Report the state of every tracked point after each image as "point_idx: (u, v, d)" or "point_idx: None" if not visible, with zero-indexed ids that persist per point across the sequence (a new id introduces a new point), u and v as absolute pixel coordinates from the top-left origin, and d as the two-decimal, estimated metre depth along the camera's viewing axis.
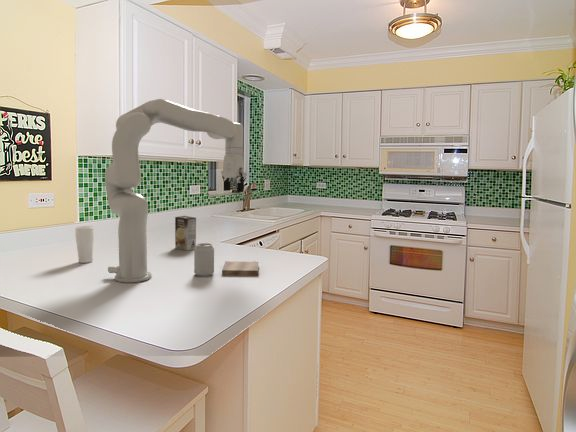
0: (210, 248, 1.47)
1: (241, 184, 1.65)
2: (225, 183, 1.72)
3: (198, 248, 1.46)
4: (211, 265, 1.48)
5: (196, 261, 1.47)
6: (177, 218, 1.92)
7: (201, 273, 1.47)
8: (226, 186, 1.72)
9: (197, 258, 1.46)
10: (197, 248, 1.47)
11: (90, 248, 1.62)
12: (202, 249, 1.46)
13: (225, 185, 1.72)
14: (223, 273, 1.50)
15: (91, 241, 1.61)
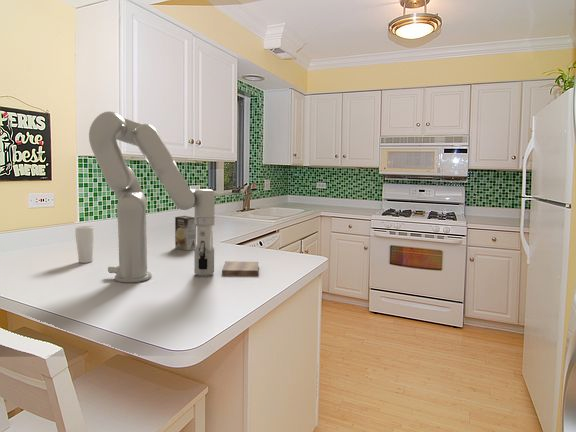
0: None
1: None
2: None
3: None
4: (211, 265, 1.48)
5: (196, 261, 1.47)
6: (177, 218, 1.92)
7: (201, 273, 1.47)
8: None
9: (197, 258, 1.46)
10: None
11: (90, 248, 1.62)
12: None
13: None
14: (223, 273, 1.50)
15: (91, 241, 1.61)
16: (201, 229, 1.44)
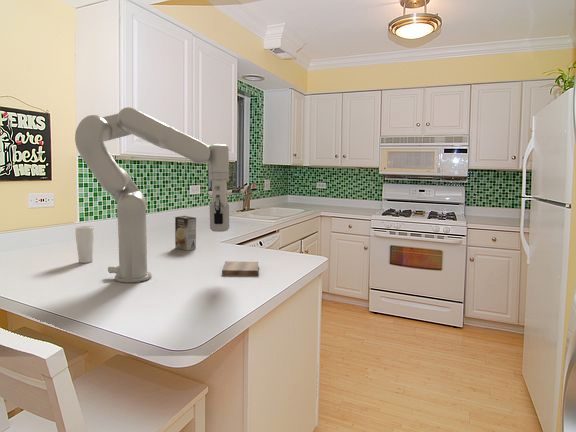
0: None
1: None
2: None
3: None
4: (226, 220, 1.49)
5: (212, 216, 1.47)
6: (177, 218, 1.92)
7: (217, 228, 1.47)
8: None
9: (213, 213, 1.47)
10: (212, 203, 1.47)
11: (90, 248, 1.62)
12: None
13: None
14: (223, 273, 1.50)
15: (91, 241, 1.61)
16: (216, 183, 1.44)
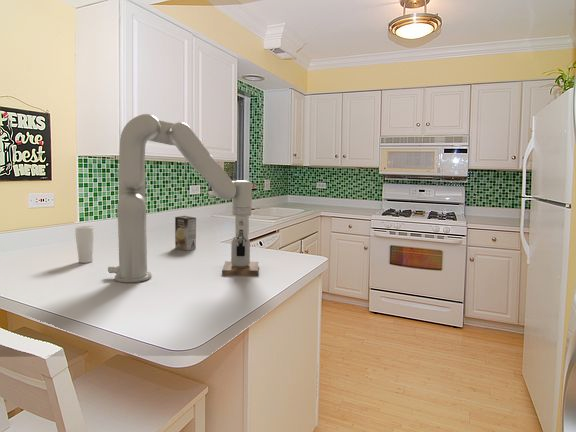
0: (247, 240, 1.54)
1: None
2: None
3: (235, 240, 1.53)
4: (248, 257, 1.55)
5: (233, 253, 1.53)
6: (177, 218, 1.92)
7: (238, 264, 1.53)
8: None
9: (235, 250, 1.53)
10: (234, 240, 1.53)
11: (90, 248, 1.62)
12: None
13: None
14: (223, 273, 1.50)
15: (91, 241, 1.61)
16: (240, 218, 1.50)
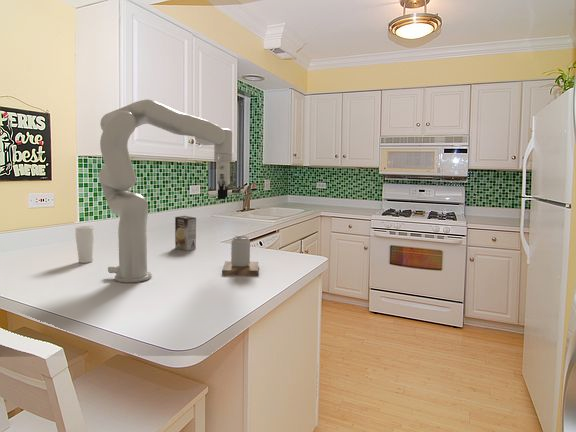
0: (247, 240, 1.54)
1: None
2: None
3: (235, 240, 1.53)
4: (248, 257, 1.55)
5: (233, 253, 1.53)
6: (177, 218, 1.92)
7: (238, 264, 1.53)
8: None
9: (235, 250, 1.53)
10: (234, 240, 1.53)
11: (90, 248, 1.62)
12: (239, 241, 1.52)
13: None
14: (223, 273, 1.50)
15: (91, 241, 1.61)
16: (220, 163, 1.61)
